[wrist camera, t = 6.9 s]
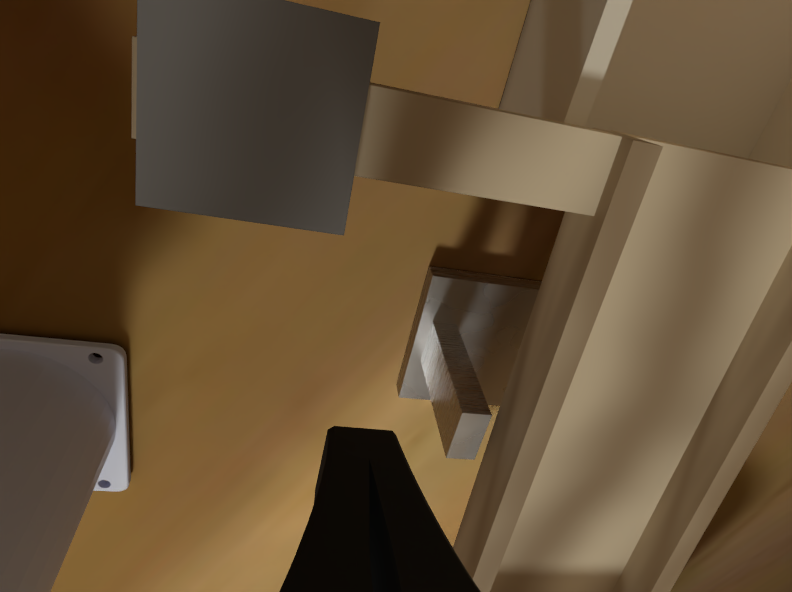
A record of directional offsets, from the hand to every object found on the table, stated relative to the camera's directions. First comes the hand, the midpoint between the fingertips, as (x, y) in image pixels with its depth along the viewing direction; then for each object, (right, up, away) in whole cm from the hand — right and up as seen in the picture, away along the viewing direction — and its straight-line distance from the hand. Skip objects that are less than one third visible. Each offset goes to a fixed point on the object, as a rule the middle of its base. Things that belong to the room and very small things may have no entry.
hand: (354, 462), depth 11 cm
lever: (+3, 0, +7) cm, 7 cm away
